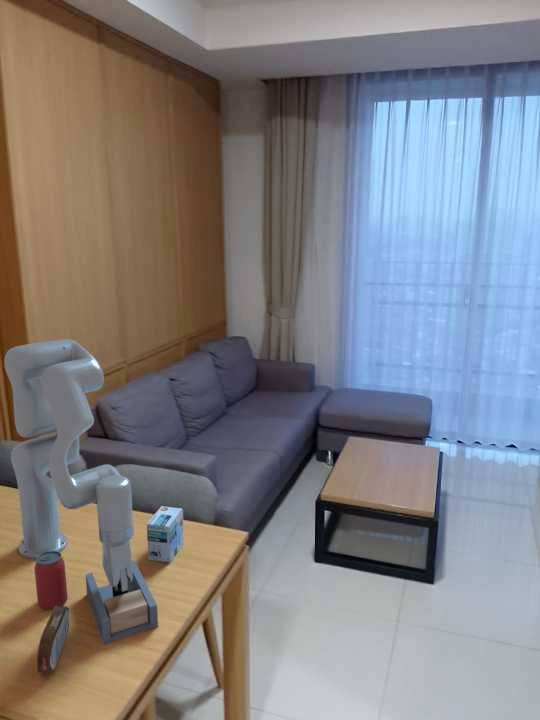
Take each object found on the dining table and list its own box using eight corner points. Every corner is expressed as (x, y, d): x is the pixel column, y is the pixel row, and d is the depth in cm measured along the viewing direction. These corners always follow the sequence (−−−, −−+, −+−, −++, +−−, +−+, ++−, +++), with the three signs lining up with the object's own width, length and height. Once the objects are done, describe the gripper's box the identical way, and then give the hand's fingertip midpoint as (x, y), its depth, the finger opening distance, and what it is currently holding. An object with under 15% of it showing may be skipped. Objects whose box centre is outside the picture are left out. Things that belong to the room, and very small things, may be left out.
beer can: (37, 597, 135) (33, 553, 132) (66, 590, 137) (62, 547, 135) (38, 614, 129) (33, 568, 126) (68, 607, 131) (64, 561, 129)
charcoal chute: (87, 594, 136) (85, 574, 135) (136, 580, 141) (135, 561, 140) (103, 644, 120) (101, 622, 118) (158, 626, 125) (157, 605, 124)
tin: (58, 630, 124) (55, 597, 122) (73, 629, 124) (70, 596, 122) (36, 684, 109) (32, 647, 107) (53, 682, 110) (49, 646, 108)
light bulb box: (171, 563, 149) (169, 527, 146) (147, 560, 150) (145, 524, 148) (184, 542, 159) (183, 507, 157) (162, 539, 160) (161, 505, 158)
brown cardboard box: (105, 617, 126) (103, 599, 125) (141, 606, 130) (140, 589, 129) (111, 633, 121) (109, 615, 120) (148, 621, 125) (147, 604, 124)
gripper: (92, 519, 131) (98, 588, 135) (106, 551, 118) (111, 626, 122) (124, 512, 134) (129, 580, 138) (141, 542, 121) (145, 616, 125)
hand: (120, 601), depth 130 cm, fingers closed
